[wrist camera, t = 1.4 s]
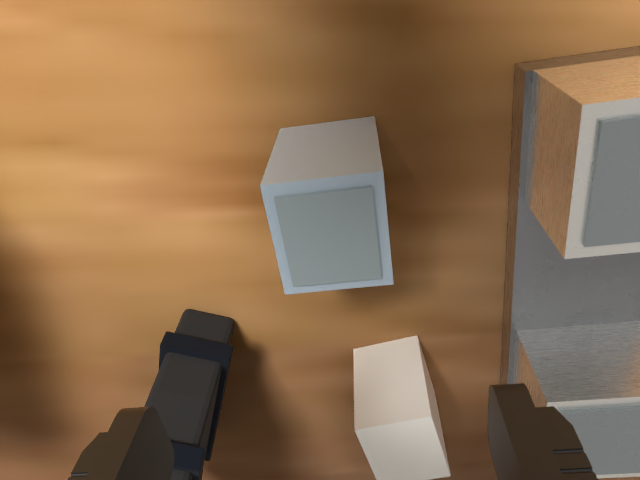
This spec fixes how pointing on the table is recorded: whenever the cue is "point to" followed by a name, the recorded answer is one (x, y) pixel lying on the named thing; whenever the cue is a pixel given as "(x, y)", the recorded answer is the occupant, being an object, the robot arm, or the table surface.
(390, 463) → the block
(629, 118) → the grey notched bar
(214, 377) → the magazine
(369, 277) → the block
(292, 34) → the table surface
